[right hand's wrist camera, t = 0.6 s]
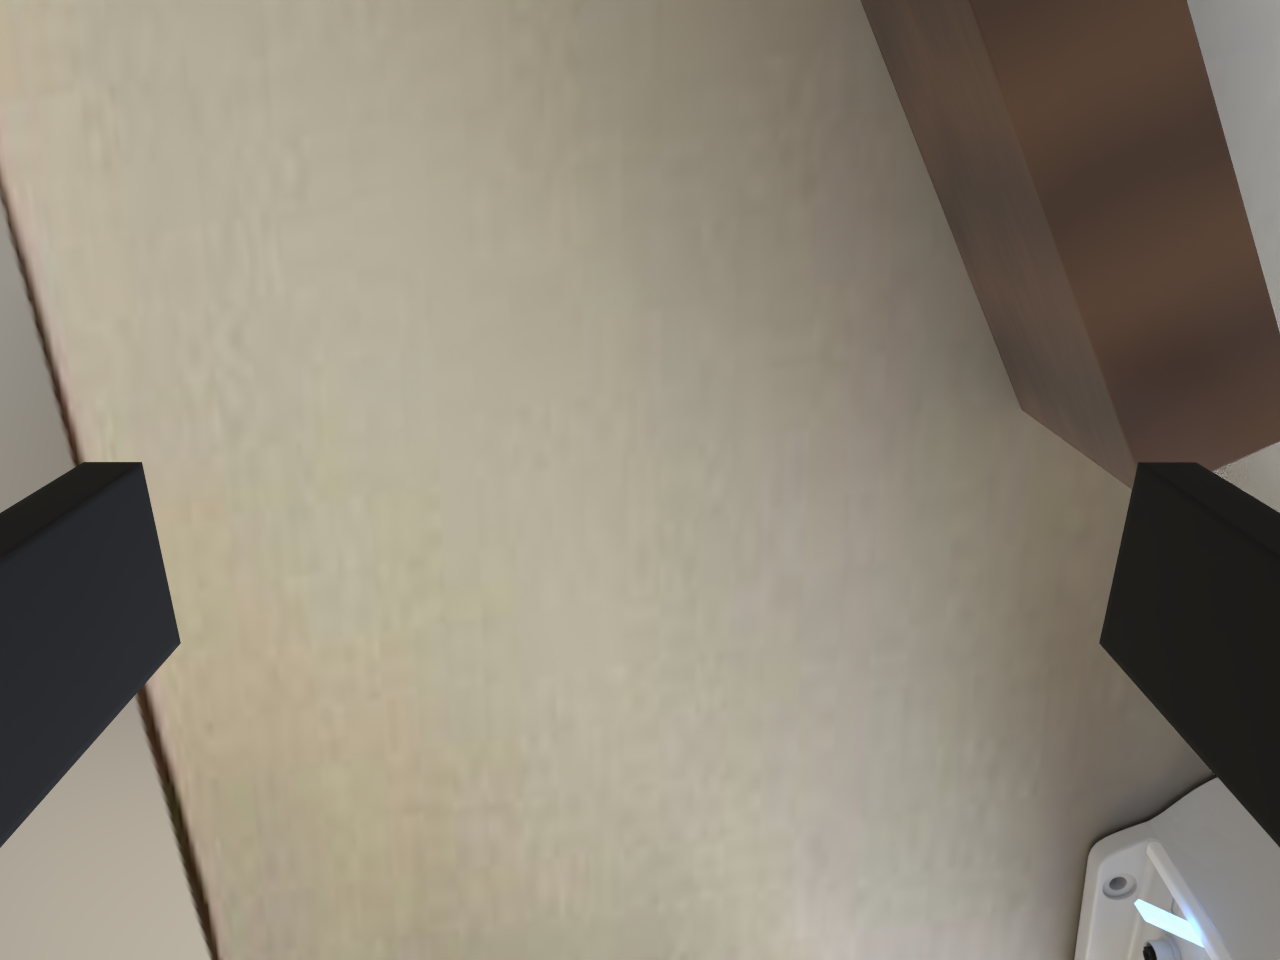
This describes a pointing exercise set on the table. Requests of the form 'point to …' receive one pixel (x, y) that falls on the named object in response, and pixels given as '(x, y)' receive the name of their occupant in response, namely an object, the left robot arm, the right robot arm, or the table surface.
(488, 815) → the table surface
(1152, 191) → the plank
